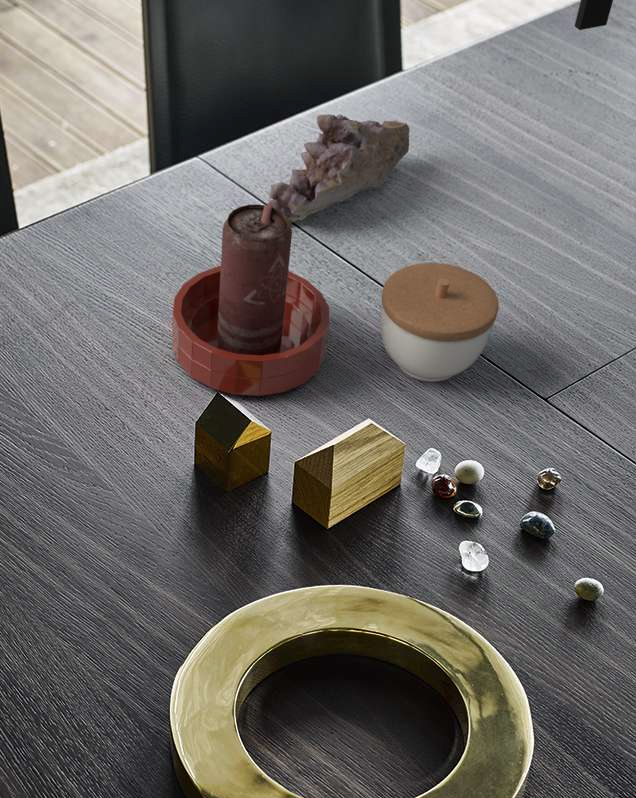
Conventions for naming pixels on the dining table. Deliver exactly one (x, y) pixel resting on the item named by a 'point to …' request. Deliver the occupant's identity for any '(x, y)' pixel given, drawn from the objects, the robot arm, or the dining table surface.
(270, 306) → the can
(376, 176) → the mineral specimen
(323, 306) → the bowl
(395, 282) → the trinket box
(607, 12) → the robot arm
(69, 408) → the dining table surface
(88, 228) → the dining table surface
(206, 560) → the dining table surface
